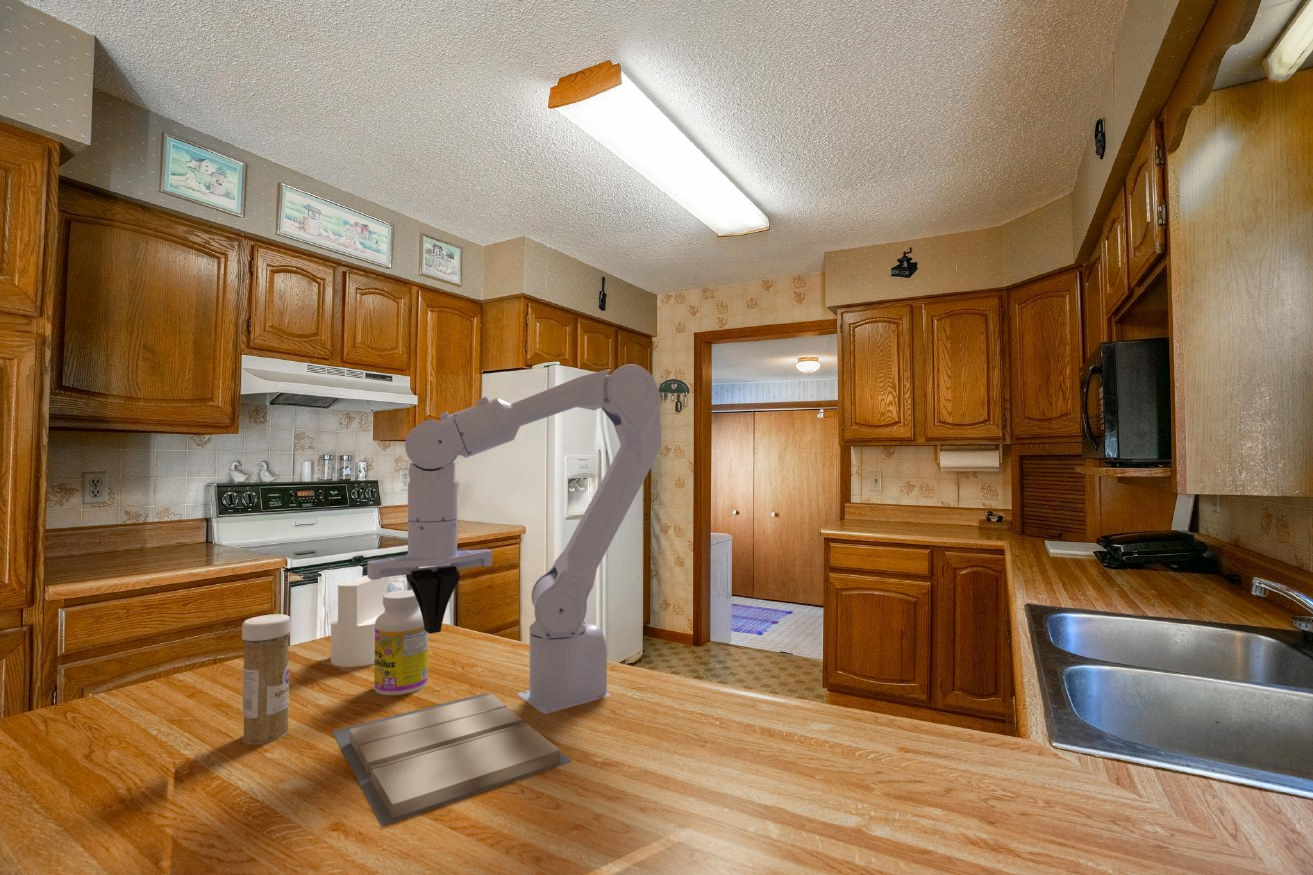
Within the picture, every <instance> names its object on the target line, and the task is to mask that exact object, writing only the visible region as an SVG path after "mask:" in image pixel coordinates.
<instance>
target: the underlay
mask: <svg viewBox="0 0 1313 875" xmlns="http://www.w3.org/2000/svg"><path fill="white" fill-rule="evenodd" d="M487 695H489V694H488V693H487V692H484V693H481V694H477V695H472V696H469V697H464V698H460V699H457V700H452V701H451V700H450V701H447V702H444V703H439V704H436V705H432V706H427V707H424V708H420V709H415V710H410V711H407V712H402V713H399V714H398V713H397V714H394V715H391V716H388V717H382V718H379V719H378V718H377V719H375V720H370V721H365V722H361V723H358V724H354V725H349V726H347V727H346V726H345V727H342V728H338V729H333V730H331V733H332V734H333V736H334V738H335V741H336V742H337V744H338V746H339V748H340V749H341V751H342V753H343V755H344V757H345V760H346V761H347V763H348V765H349V767H350V769H351V771H352V773H353V775H354V776H355V778H356V780H357V782H358V784H359V786H360V787H361V790H362V791H363V793H364V795H365V797H366V799H367V801H368V803H369V805H370V806H371V809H372V810H373V813H374V814H375V816H376V819H377V820H378V823H379V824H380V826H381V827H384V826H387V825H390V824H393V823H396V822H398V821H401V820H405V819H408V818H410V817H413V816H416V815H419V814H422V813H424V812H428V811H431V810H434V809H437V808H439V807H442V806H445V805H449V804H451V803H454V802H457V801H460V800H462V799H463V800H464V799H466V798H469V797H472V796H474V795H478V794H480V793H483V792H486V791H489V790H492V789H495V788H497V787H500V786H503V785H507V784H510V783H512V782H513V783H514V782H515V781H518V780H519V781H520V780H521V779H525V778H527V777H530V776H533V775H535V774H536V775H537V774H539V773H542V772H545V771H548V770H550V769H553V768H556V767H559V766H563V765H565V764H569V763H571V762H572V760H571V759H570V758H569V757H567V756H566V755H565V754H563V753H562V752H561V751H560V762H559V763H556V764H553V765H550V766H547V767H544V768H541V769H538V770H535V771H532V772H529V773H526V774H523V775H520V776H518V777H515V778H512V779H509V780H506V781H503V782H500V783H497V784H494V785H491V786H488V787H485V788H482V789H479V790H476V791H473V792H470V793H467V794H464V795H461V796H458V797H455V798H452V799H450V800H447V801H444V802H441V803H438V804H435V805H432V806H429V807H426V808H423V809H420V810H417V811H414V812H411V813H408V814H405V815H402V816H399V817H396V818H392V817H391V815H390V813H389V811H388V810H387V808H386V806H385V804H384V802H383V801H382V799H381V797H380V795H379V794H378V792H377V790H376V788H375V787H374V785H373V783H372V781H371V774H369V775H368V774H367V772H366V770H365V768H364V767H363V765H362V763H361V761H360V759H359V757H358V755H357V753H356V751H355V750H354V748H353V746H352V744H351V742H350V729H353V728H357V727H362V726H366V725H370V724H374V723H378V722H382V721H386V720H390V719H394V718H398V717H402V716H406V715H410V714H414V713H418V712H422V711H426V710H430V709H434V708H438V707H442V706H446V705H450V704H454V703H458V702H463V701H467V700H471V699H475V698H479V697H483V696H487ZM523 723H524V722H523V721H522V724H523Z"/></svg>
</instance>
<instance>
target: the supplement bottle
mask: <svg viewBox="0 0 1313 875" xmlns="http://www.w3.org/2000/svg"><path fill="white" fill-rule="evenodd" d="M383 605H384V607H385V612H384V613H382V614H381V615H379V616H378V618H377V619H376V622H375V664H374V682H373V683H374V684H373V685H374V691H375V693H377V694H379V695H383V696H400V695H405V694H406V695H407V694H410V693H414V692H417V691H419V690H422V689H423V688H426V686H427V685H428V679H429V641H428V640H429V633H428V632H426V631H425V629H424V623H423V618H422V614H421V610H420V607H419V604H418V602H417V599H416V597H415V594H414V592H413V590H412V589H411V590H410V589H407V590H406V589H405V590H395V591H391V592H387V594H385V595H384V596H383Z"/></svg>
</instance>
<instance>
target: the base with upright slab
mask: <svg viewBox="0 0 1313 875" xmlns="http://www.w3.org/2000/svg"><path fill="white" fill-rule="evenodd" d="M387 581H388V577H383V578H381V579H376V580H371V579H369V578H368V577H367V575H364V576H361V577H358V578H354V579H352V580H349V581H347V582H343V583H341V584H338V585H337V617H335V618H333V619H332V620H331V621H330V663H331V664H332V665H333V666H336V665H337V667H343V668H356V667H364V666H370V665H375V622H376V619H377V618H378V616H379V615H381V614H382V613H384V612H385V607H384V605H383V596H384V595H385V594H387V593H388V592H387V591H388V588H387V587H388V582H387Z"/></svg>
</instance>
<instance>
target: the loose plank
mask: <svg viewBox="0 0 1313 875" xmlns="http://www.w3.org/2000/svg"><path fill="white" fill-rule="evenodd" d="M522 720H523V719H522V718H520V717H519V716H518V715H517V714H516V713H515V712H514V711H513V710H512V709H510V708H509V707H508V706H507V704H504V703H503V702H502V701H501V700H500V699H498V697H496V696H495V695H494V694H493V693H491V694H488V695H487V696H483V697H479V698H475V699H471V700H467V701H463V702H458V703H454V704H450V705H446V706H442V707H438V708H434V709H430V710H426V711H422V712H418V713H414V714H410V715H406V716H402V717H398V718H394V719H390V720H386V721H382V722H378V723H374V724H370V725H366V726H362V727H357V728H353V729H350V742H351V744H352V746H353V748H354V750H355V751H356V753H357V755H358V757H359V759H360V761H361V763H362V765H363V767H364V768H365V770H366V772H367V774H368V775H369V774H371V767H372V766H376V765H379V764H383V763H386V762H390V761H393V760H397V759H400V758H404V757H407V756H411V755H414V754H418V753H421V752H425V751H428V750H432V749H435V748H439V747H442V746H446V745H449V744H453V743H456V742H460V741H463V740H467V739H470V738H474V737H477V736H481V735H484V734H488V733H491V732H495V731H498V730H502V729H505V728H509V727H512V726H516V725H519V724H522V722H523V721H522Z"/></svg>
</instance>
